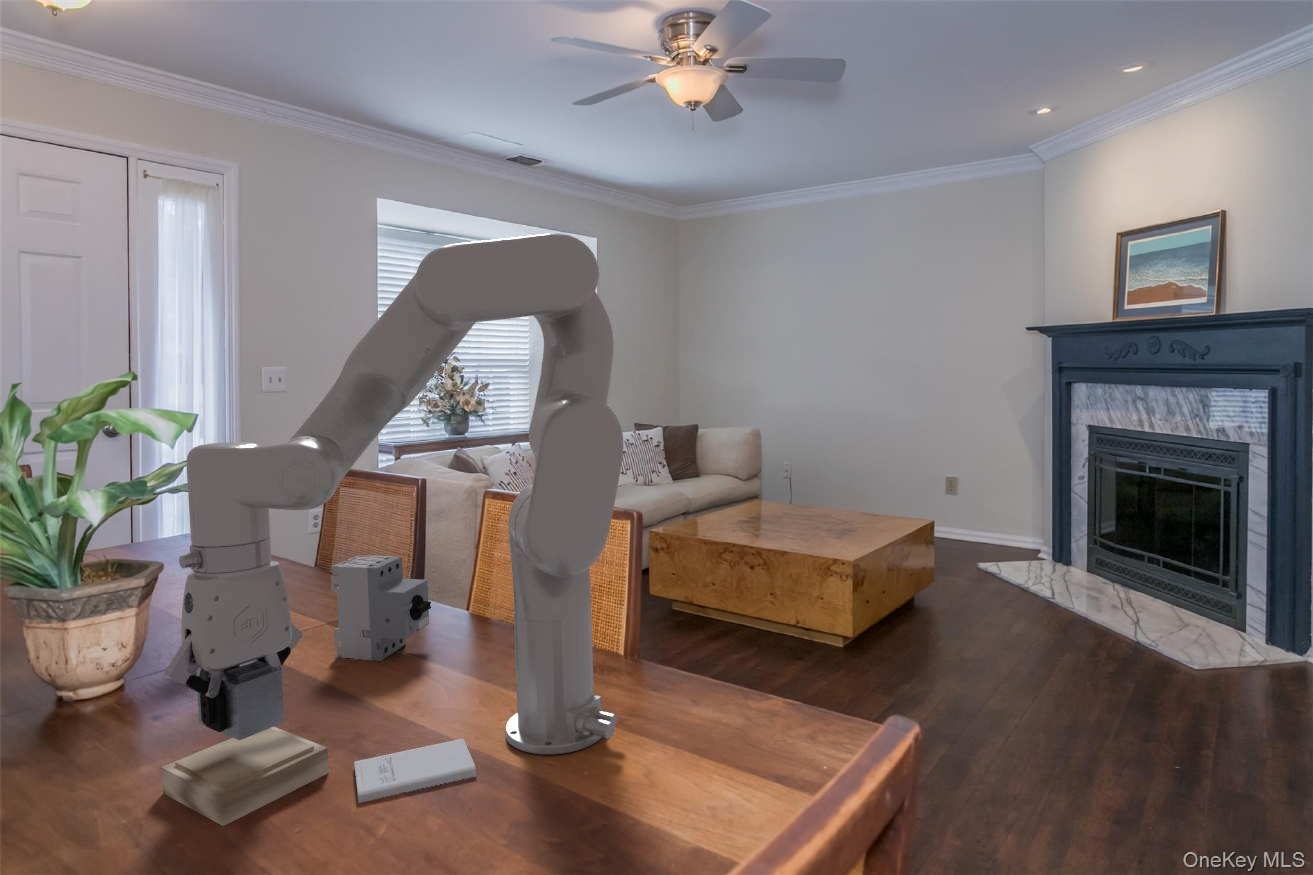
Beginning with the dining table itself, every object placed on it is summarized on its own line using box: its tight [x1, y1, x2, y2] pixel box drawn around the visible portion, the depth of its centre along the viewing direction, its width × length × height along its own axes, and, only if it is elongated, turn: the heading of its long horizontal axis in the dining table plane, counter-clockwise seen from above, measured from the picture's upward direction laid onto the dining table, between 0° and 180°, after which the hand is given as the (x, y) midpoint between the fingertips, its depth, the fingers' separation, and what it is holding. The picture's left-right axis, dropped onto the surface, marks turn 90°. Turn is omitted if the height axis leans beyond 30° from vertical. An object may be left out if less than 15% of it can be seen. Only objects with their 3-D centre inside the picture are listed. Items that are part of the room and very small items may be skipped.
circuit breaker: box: [330, 554, 432, 662], centre depth 126 cm, size 8×14×15 cm, turn 79°
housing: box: [195, 660, 285, 741], centre depth 86 cm, size 8×5×7 cm, turn 58°
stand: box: [160, 726, 330, 827], centre depth 86 cm, size 12×12×3 cm
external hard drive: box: [353, 738, 477, 804], centre depth 88 cm, size 2×8×12 cm
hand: (241, 716), depth 86 cm, fingers closed on housing, 5 cm apart
